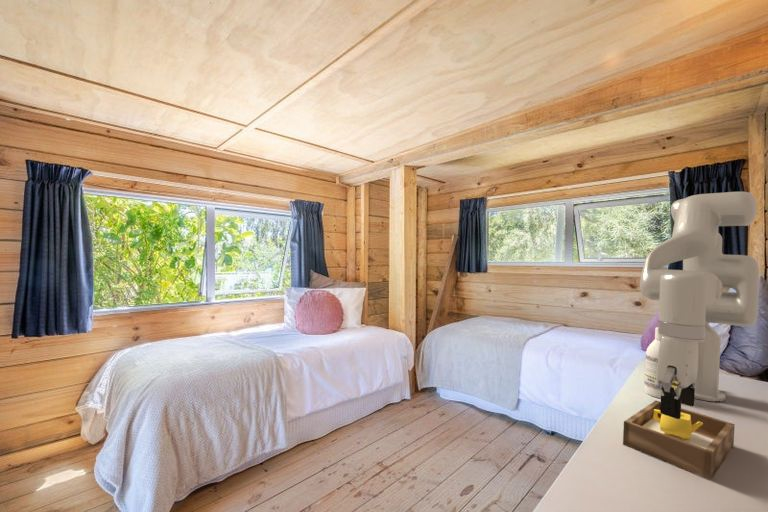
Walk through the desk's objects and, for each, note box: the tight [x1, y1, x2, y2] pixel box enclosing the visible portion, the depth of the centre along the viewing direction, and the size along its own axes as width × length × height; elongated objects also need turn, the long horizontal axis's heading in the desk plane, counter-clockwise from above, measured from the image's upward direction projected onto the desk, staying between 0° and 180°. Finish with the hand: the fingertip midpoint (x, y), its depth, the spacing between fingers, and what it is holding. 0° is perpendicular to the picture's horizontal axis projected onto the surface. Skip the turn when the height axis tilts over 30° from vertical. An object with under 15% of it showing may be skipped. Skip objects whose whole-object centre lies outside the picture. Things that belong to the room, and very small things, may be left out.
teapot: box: [653, 409, 703, 440], centre depth 74 cm, size 8×6×5 cm
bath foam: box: [643, 326, 675, 399], centre depth 103 cm, size 7×7×20 cm
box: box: [622, 400, 735, 481], centre depth 75 cm, size 20×14×5 cm
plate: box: [643, 419, 714, 449], centre depth 74 cm, size 9×11×2 cm
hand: (677, 409), depth 74 cm, fingers open, 9 cm apart
